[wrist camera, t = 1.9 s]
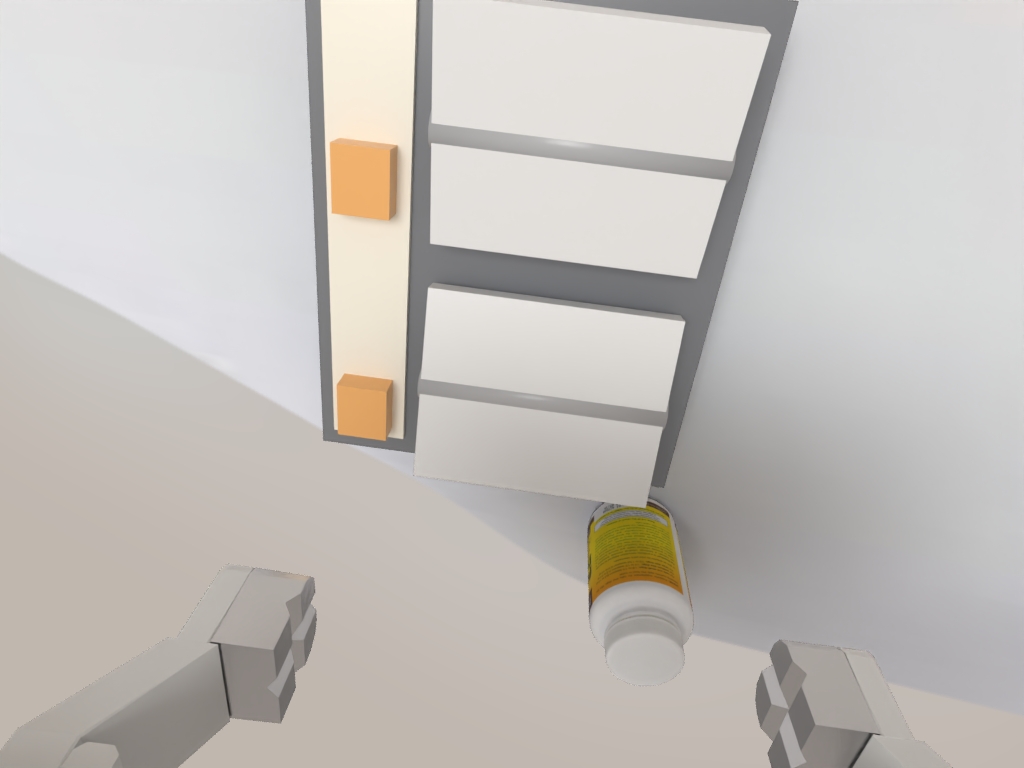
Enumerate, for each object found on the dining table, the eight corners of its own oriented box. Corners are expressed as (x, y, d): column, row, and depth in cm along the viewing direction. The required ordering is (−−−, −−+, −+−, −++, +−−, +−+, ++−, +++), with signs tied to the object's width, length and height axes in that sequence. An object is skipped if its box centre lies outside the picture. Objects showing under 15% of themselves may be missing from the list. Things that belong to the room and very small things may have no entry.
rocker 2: (682, 315, 29) (688, 322, 28) (644, 494, 32) (648, 509, 31) (431, 281, 29) (425, 287, 28) (416, 463, 32) (410, 476, 31)
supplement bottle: (572, 507, 42) (571, 639, 33) (655, 479, 40) (678, 610, 31) (607, 567, 44) (615, 707, 35) (688, 543, 42) (717, 682, 33)
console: (763, 4, 28) (811, -1, 22) (653, 434, 39) (667, 506, 33) (345, -47, 28) (286, -64, 23) (351, 393, 39) (313, 457, 33)
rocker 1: (766, 26, 22) (775, 35, 21) (695, 263, 28) (699, 280, 27) (437, -14, 22) (429, -7, 21) (433, 229, 28) (427, 244, 27)
